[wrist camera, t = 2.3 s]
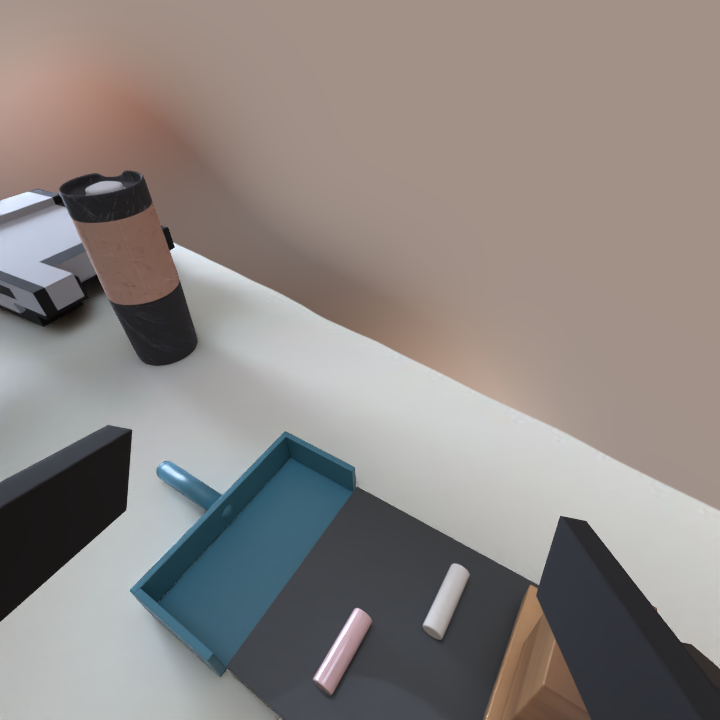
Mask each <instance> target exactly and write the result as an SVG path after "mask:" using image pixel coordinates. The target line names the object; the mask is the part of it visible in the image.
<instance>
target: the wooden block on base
mask: <svg viewBox="0 0 720 720" xmlns="http://www.w3.org/2000/svg"><path fill="white" fill-rule="evenodd" d="M537 590H538V588H536V587H534V586H532V585H530V586H529V588H528V590H527V591H526V593H525V595H524V597H523V599H522V601H521V604H520V607H519V610H518V613H517V616H516V619H515V622H514V625H513V628H512V631H511V634H510V637H509V640H508V643H507V646H506V650H505V653H504V656H503V659H502V662H501V665H500V668H499V671H498V674H497V677H496V680H495V683H494V686H493V689H492V692H491V695H490V698H489V701H488V704H487V707H486V710H485V713H484V716H483V719H482V720H591V718H590V716H589V714H588V711H587V709H586V707H585V705H584V702H583V700H582V698H581V696H580V693H579V691H578V689H577V687H576V684H575V682H574V680H573V678H572V675H571V673H570V671H569V669H568V666H567V664H566V662H565V660H564V657H563V655H562V653H561V651H560V648H559V646H558V644H557V642H556V639H555V637H554V635H553V633H552V630H551V628H550V626H549V624H548V621H547V619H546V617H545V615H544V612H543V610H542V608H541V606H540V603H539V601H538V599H537V597H536V594H537ZM653 607H654V606H653ZM654 608H655V610H656V611H657V608H656V607H654Z"/></svg>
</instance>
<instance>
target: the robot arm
mask: <svg viewBox="0 0 720 720" xmlns="http://www.w3.org/2000/svg"><path fill="white" fill-rule="evenodd" d="M131 439H132V430H131V429H126V428H121V427H116V426H111V425H107V426H105V427H103V428H101V429H100V430H98V431H96V432H94V433H92V434H90V435H88V436H86V437H85V438H83V439H81V440H79V441H77V442H75V443H73V444H71V445H69V446H68V447H66V448H64V449H62V450H60V451H58V452H56V453H54V454H52V455H51V456H49V457H47V458H45V459H43V460H41V461H39V462H37V463H36V464H34V465H32V466H30V467H28V468H26V469H24V470H22V471H20V472H19V473H17V474H15V475H13V476H11V477H9V478H7V479H5V480H4V481H2V482H0V622H1V621H2V620H3V619H4V618H5V617H6V616H7V615H8V614H10V613H11V612H12V611H13V610H14V609H15V608H16V607H17V606H19V605H20V604H21V603H22V602H23V601H24V600H25V599H26V598H28V597H29V596H30V595H31V594H32V593H33V592H34V591H36V590H37V589H38V588H39V587H40V586H41V585H42V584H43V583H45V582H46V581H47V580H48V579H49V578H50V577H51V576H52V575H54V574H55V573H56V572H57V571H58V570H59V569H60V568H61V567H63V566H64V565H65V564H66V563H67V562H68V561H69V560H70V559H72V558H73V557H74V556H75V555H76V554H77V553H78V552H80V551H81V550H82V549H83V548H84V547H85V546H86V545H87V544H89V543H90V542H91V541H92V540H93V539H94V538H95V537H96V536H98V535H99V534H100V533H101V532H102V531H103V530H104V529H105V528H107V527H108V526H109V525H110V524H111V523H112V522H113V521H114V520H116V519H117V518H118V517H119V516H120V515H121V514H122V513H124V512H125V511H126V508H127V494H128V480H129V466H130V453H131ZM536 597H537V599H538V601H539V603H540V606H541V608H542V610H543V612H544V615H545V617H546V619H547V621H548V624H549V626H550V628H551V630H552V633H553V635H554V637H555V639H556V642H557V644H558V646H559V648H560V651H561V653H562V655H563V657H564V660H565V662H566V664H567V666H568V669H569V671H570V673H571V675H572V678H573V680H574V682H575V684H576V687H577V689H578V691H579V693H580V696H581V698H582V700H583V702H584V705H585V707H586V709H587V711H588V714H589V716H590V718H591V720H720V669H719V668H718V667H717V666H716V665H715V664H714V663H713V662H711V661H710V660H709V659H708V658H707V657H706V656H704V655H703V654H702V653H701V652H700V651H699V650H697V649H696V648H695V647H694V646H693V645H691V644H686V643H682V642H680V640H679V639H678V638H677V637H676V635H675V634H674V633H673V632H672V630H671V629H670V628H669V626H668V625H667V624H666V623H665V621H664V620H663V619H662V617H661V616H660V615H659V614H658V612H657V611H656V610H655V608H654V607H653V606H652V605H651V603H650V602H649V601H648V600H647V598H646V597H645V596H644V594H643V593H642V592H641V591H640V589H639V588H638V587H637V585H636V584H635V583H634V582H633V580H632V579H631V578H630V577H629V575H628V574H627V573H626V571H625V570H624V569H623V568H622V566H621V565H620V564H619V562H618V561H617V560H616V559H615V557H614V556H613V555H612V553H611V552H610V551H609V550H608V548H607V547H606V546H605V545H604V543H603V542H602V541H601V539H600V538H599V537H598V536H597V534H596V533H595V532H594V530H593V529H592V528H591V527H590V525H589V524H588V523H587V521H583V520H578V519H573V518H568V517H563V516H560V518H559V522H558V525H557V528H556V531H555V535H554V538H553V541H552V545H551V548H550V551H549V554H548V558H547V561H546V564H545V567H544V571H543V574H542V577H541V581H540V584H539V587H538V590H537V594H536Z"/></svg>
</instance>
